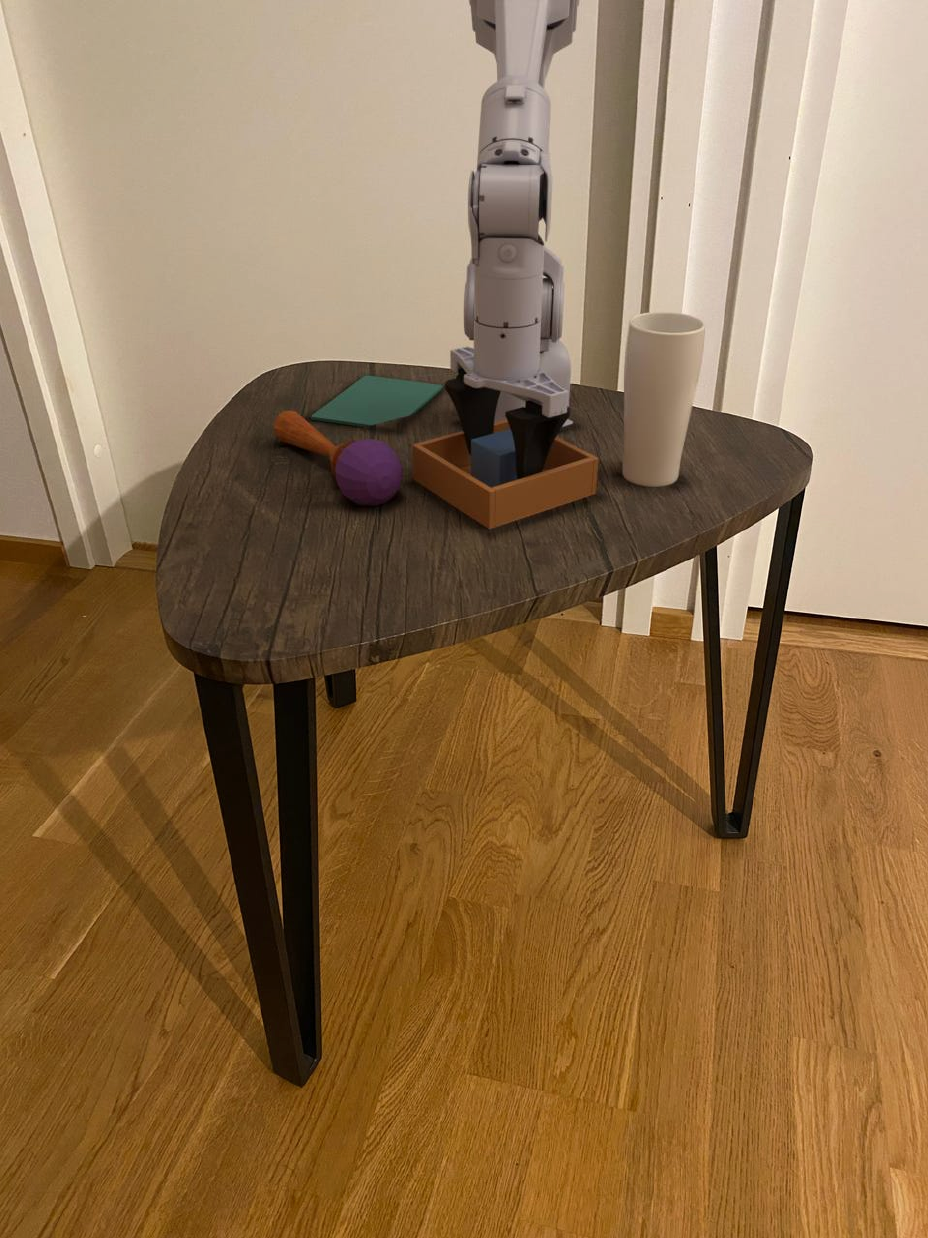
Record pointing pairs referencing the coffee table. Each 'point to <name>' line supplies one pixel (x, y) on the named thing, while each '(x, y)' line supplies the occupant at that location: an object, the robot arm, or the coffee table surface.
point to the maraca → (348, 460)
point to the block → (494, 458)
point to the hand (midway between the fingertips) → (503, 466)
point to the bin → (560, 482)
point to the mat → (377, 401)
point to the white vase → (659, 393)
